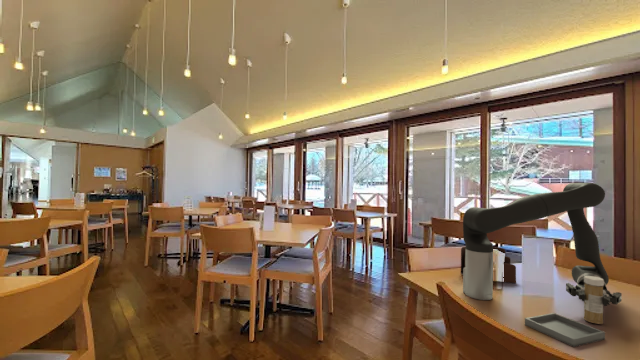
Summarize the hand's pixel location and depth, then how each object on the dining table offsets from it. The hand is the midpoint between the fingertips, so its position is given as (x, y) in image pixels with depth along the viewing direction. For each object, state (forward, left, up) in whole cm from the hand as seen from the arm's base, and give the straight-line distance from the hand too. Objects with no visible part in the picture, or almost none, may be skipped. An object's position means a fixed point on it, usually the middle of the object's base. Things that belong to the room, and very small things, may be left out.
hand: (594, 300), depth 91 cm
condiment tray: (0, -14, -8) cm, 16 cm away
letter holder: (-45, +9, -8) cm, 46 cm away
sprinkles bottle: (-1, +2, -7) cm, 8 cm away
